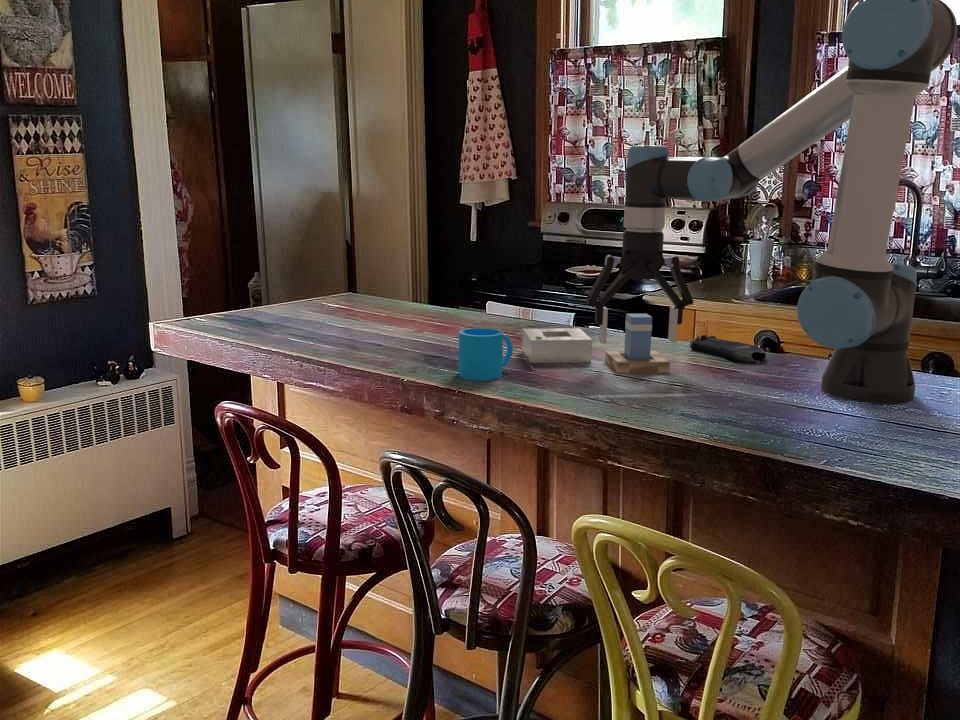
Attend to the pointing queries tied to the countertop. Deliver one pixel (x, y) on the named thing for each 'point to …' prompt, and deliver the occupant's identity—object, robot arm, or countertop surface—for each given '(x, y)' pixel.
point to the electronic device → (728, 349)
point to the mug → (482, 353)
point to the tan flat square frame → (637, 363)
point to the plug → (637, 336)
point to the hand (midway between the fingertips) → (637, 341)
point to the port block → (556, 345)
